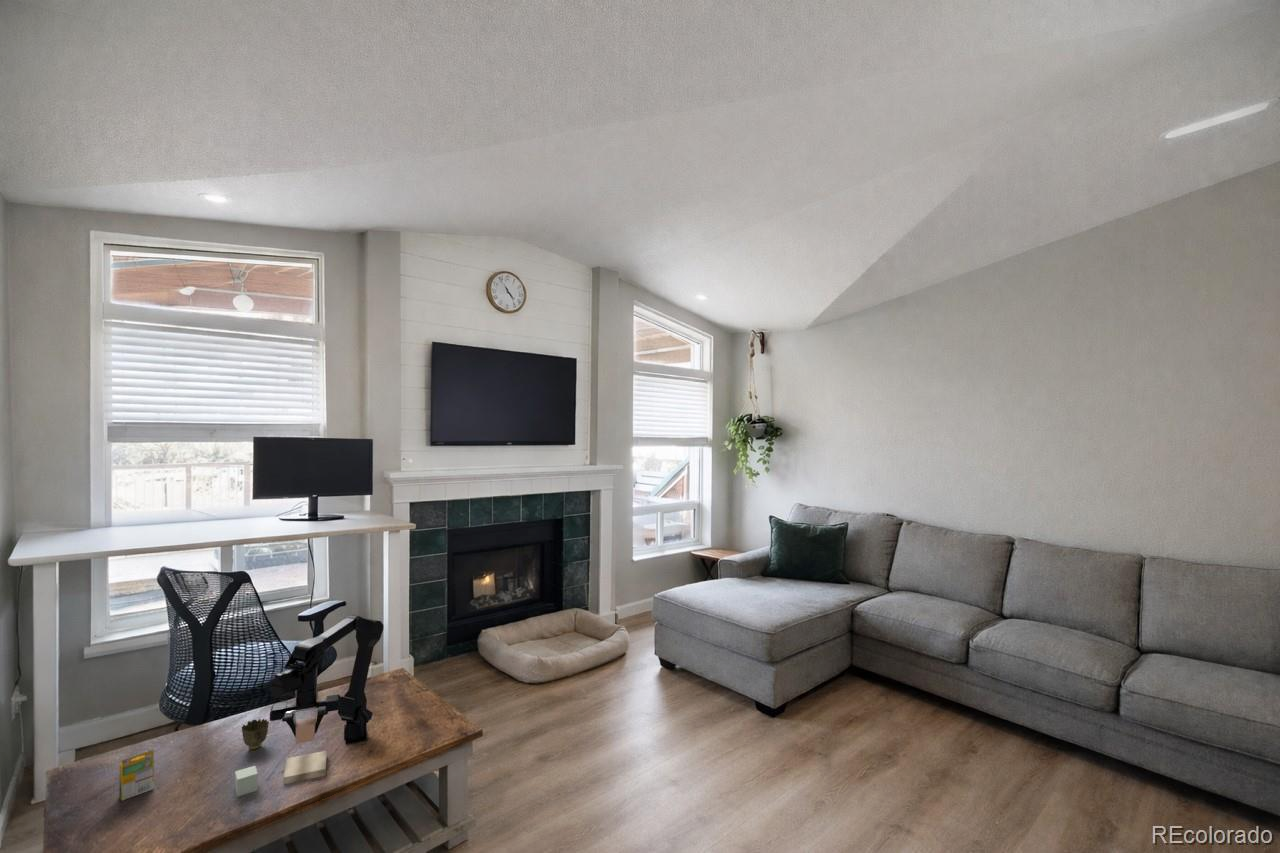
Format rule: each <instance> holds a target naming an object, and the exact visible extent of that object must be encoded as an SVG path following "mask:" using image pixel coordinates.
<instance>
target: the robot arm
mask: <svg viewBox="0 0 1280 853" xmlns="http://www.w3.org/2000/svg"><path fill="white" fill-rule="evenodd" d="M354 631H355V639H356V642H357V649H356V650H357V651H356V655H355V659H354V663H353V668H352V673H351V677H350V682H349V684H348V685H349V687H348V690H347V691H346V693H344V695H343V696H342V695H340V694H331V695H326V699H322V700H319V701H318V696H319V695H318V692H319V691H318V668H319V667H321V666H323V665H324V662H323V661H321V660H320V659H321V658H323V657H324V655H325V654H326V653H327V650H328V649H329V648H330V647H332V646H333V645H335V644H336V643H338V642H339V641H341V640H342V639H344V638H345V637H346V636H348V635H349V634H351V633H352V632H354ZM383 632H384V624H383V622H382V621H381V620H378V619H377V620H376V619H370V618H364V617H362V616H360V615H355V614H349V615H346V616H345V618H344V619H342V620H341V621H340V622H338V623H336V624H335V625H334V626H332V627H330V628H329V629H327V630H326V631H324V632H323V633H320V634H319V635H317V636H315V637H310V638H307V639H304V640H303V641H301V642H299V643H297V644H295V646H294V648H293V651H292V653H291V654H290V656H289V658H288V659H287V662H286V663H285V665H284V666H283V668H284V669H285V670H284V671H282V672H278V673H275V674H274V678H273V679H271V681H270V684H269V692H270V695H271V697H273V698H274V699H281V698H282V697H283V698H284V697H285V696H287V695H289V694H291V693H292V694H291V697H292V698H295V704H293V705H288V702H280V703H274V704H273V705H272V706H271V709H270V713H269V721H270V722H274V721H280V720H281V722H283V723H284V722H286V723H287V726H289V728H290V730H291V732H292V734H293V736H294V737H295V738H296V724H297V718H296V713H297V712H303V711H311V710H315V709H317V715H316V726H315V734H317V733H318V730H319V726H320V725H321V723H322V720H323V718H324V716H326V715H328V714H329V712H334V711H336V712H337V715H338V716H339V717H340V719H341V721H343V722H345V724H344V727H343V728H344V729H343V740H344V741H345V742H344V743H345V745H349V744H355V743H360V742H366V741H367V740H368V735H367V734H368V733H367V732H368V731H367V730H368V729H367V726H368V725H367V724H368V723H369V721H371V720H372V717H373V714H374V713H373V711H371V710H369V709H368V708H367V705H368V704H367V702H368V701H367V700H368V699H367V697H366V693H365V689H366V683H367V680H368V674H369V671H370V666H371V661H372V658H373V657H372V656H373V652H374V649H375V648H374V647H375V646H376V645H377V643H378V642H379V641H380V640H381V638H382V635H383ZM299 663H302V664H299Z"/></svg>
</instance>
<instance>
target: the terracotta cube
mask: <svg viewBox="0 0 1280 853" xmlns="http://www.w3.org/2000/svg"><path fill="white" fill-rule="evenodd" d="M316 719H317V716H312V717H305V718H300V719H296V737H295V744H302V743H307V742H314V741H315V737H316V733H315V726H316Z"/></svg>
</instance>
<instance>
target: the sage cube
mask: <svg viewBox="0 0 1280 853" xmlns="http://www.w3.org/2000/svg"><path fill="white" fill-rule="evenodd" d="M258 774H259V773H258V770H257V766H256V765H252V766H249V767H245V768H243V769H238V770H235V772H234V790H235V794H236V797H241V796H244V795H247V794H250V793H253V792H256V791H258V777H259V775H258Z"/></svg>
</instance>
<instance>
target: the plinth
mask: <svg viewBox="0 0 1280 853" xmlns="http://www.w3.org/2000/svg"><path fill="white" fill-rule="evenodd" d="M327 753H328V751H327V750H322V751H317V752H312V753H308V754H307V753H306V754H301V755H297V756H292V757H287V758H286V761H285V762H286V763H285V767H284V768H285V769H284V774H283V785H287V784H291V783H296V782H300V781H306V780H311V779H314V778H319V777H325V776H326V775H327V774H326V773H327V772H326V771H327V770H326V769H327V759H328V758H327V756H328V755H327Z"/></svg>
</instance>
